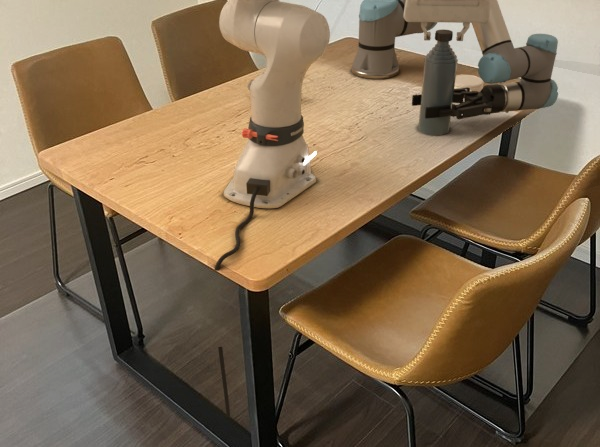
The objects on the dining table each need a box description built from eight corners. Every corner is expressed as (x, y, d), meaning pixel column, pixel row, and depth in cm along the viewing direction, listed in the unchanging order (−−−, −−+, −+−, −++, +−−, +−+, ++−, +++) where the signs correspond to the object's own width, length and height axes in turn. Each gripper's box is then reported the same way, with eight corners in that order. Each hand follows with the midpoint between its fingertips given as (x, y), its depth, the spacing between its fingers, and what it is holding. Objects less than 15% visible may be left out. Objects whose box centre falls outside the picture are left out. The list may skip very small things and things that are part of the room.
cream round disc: (444, 85, 192) (445, 74, 190) (475, 84, 193) (477, 73, 191) (454, 97, 183) (456, 86, 181) (487, 95, 184) (489, 84, 182)
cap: (447, 42, 150) (448, 35, 149) (431, 40, 152) (432, 32, 151) (454, 38, 152) (455, 30, 151) (438, 36, 155) (439, 28, 154)
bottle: (416, 123, 168) (424, 29, 155) (446, 122, 168) (457, 29, 155) (420, 135, 161) (429, 38, 148) (451, 135, 161) (464, 38, 148)
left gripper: (405, -17, 143) (400, 43, 151) (495, -16, 141) (486, 44, 149) (404, -23, 149) (400, 35, 156) (491, -22, 146) (483, 37, 154)
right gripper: (517, 126, 158) (433, 136, 154) (479, 97, 175) (403, 105, 171) (522, 98, 154) (437, 107, 150) (483, 71, 171) (405, 79, 167)
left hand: (443, 40), depth 152 cm, fingers open, 6 cm apart
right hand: (419, 106), depth 160 cm, fingers closed on bottle, 8 cm apart
